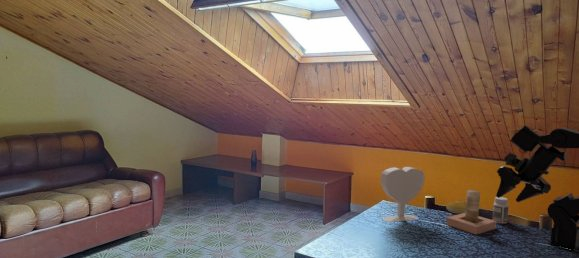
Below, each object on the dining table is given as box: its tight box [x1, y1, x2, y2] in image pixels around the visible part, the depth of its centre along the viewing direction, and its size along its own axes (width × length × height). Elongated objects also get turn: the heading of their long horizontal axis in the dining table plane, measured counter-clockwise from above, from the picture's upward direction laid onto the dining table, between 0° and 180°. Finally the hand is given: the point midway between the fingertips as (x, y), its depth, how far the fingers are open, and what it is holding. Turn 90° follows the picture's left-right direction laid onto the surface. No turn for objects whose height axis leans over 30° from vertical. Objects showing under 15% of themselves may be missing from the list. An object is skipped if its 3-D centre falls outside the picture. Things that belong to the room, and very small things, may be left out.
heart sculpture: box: [380, 166, 426, 223], centre depth 146 cm, size 16×5×18 cm, turn 109°
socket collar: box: [446, 213, 497, 235], centre depth 140 cm, size 11×11×2 cm
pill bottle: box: [491, 196, 509, 224], centre depth 146 cm, size 5×5×8 cm
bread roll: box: [445, 200, 466, 215], centre depth 157 cm, size 8×9×4 cm
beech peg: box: [465, 189, 481, 223], centre depth 139 cm, size 4×4×12 cm
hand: (507, 199), depth 135 cm, fingers open, 9 cm apart
